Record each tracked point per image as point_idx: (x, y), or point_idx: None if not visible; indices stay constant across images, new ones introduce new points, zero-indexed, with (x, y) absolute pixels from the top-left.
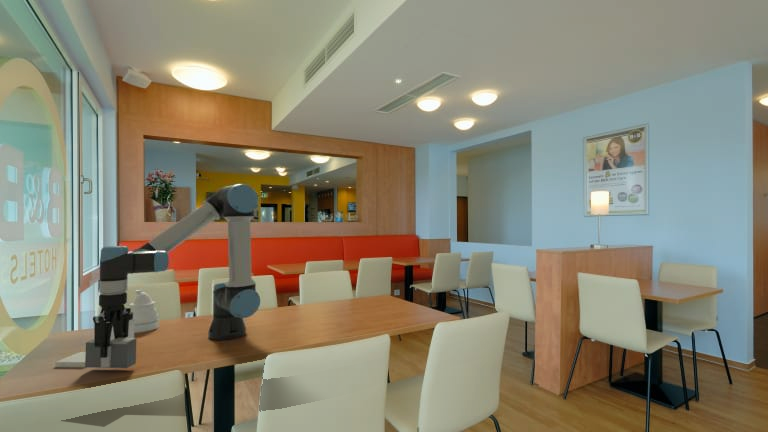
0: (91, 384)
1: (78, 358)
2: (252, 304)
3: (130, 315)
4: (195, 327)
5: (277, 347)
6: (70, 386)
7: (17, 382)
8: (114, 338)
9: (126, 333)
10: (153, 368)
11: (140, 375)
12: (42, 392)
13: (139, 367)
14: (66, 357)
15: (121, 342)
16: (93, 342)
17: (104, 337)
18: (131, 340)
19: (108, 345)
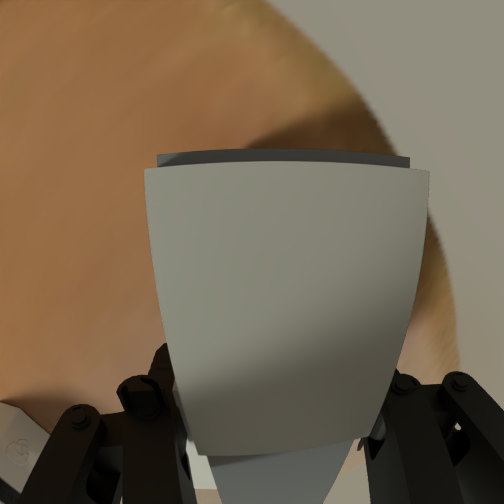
0: (424, 243)
1: (196, 468)
2: None
3: None
4: None
5: None
6: (428, 312)
7: (355, 459)
8: (37, 451)
9: (75, 443)
10: (203, 53)
11: (317, 60)
12: (449, 350)
13: (191, 151)
14: (198, 488)
15: (408, 275)
16: (324, 495)
17: (490, 441)
18: (297, 162)
19: (399, 382)
